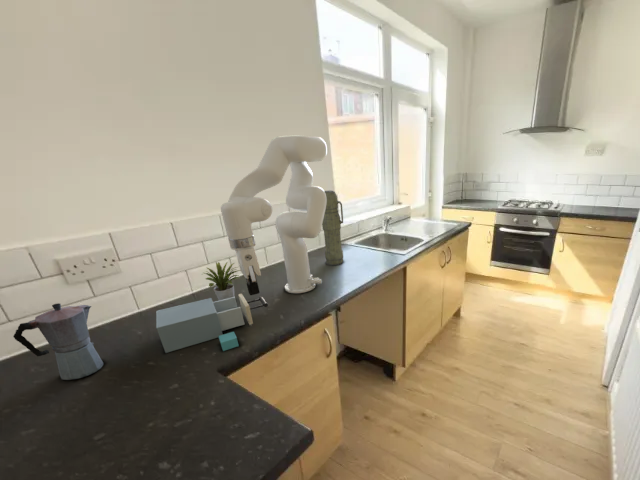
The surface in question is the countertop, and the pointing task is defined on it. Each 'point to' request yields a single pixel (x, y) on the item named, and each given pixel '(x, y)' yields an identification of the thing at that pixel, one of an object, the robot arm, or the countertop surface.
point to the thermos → (332, 230)
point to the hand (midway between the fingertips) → (254, 293)
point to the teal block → (228, 341)
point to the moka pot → (65, 340)
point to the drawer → (235, 311)
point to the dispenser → (187, 324)
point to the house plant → (222, 281)
